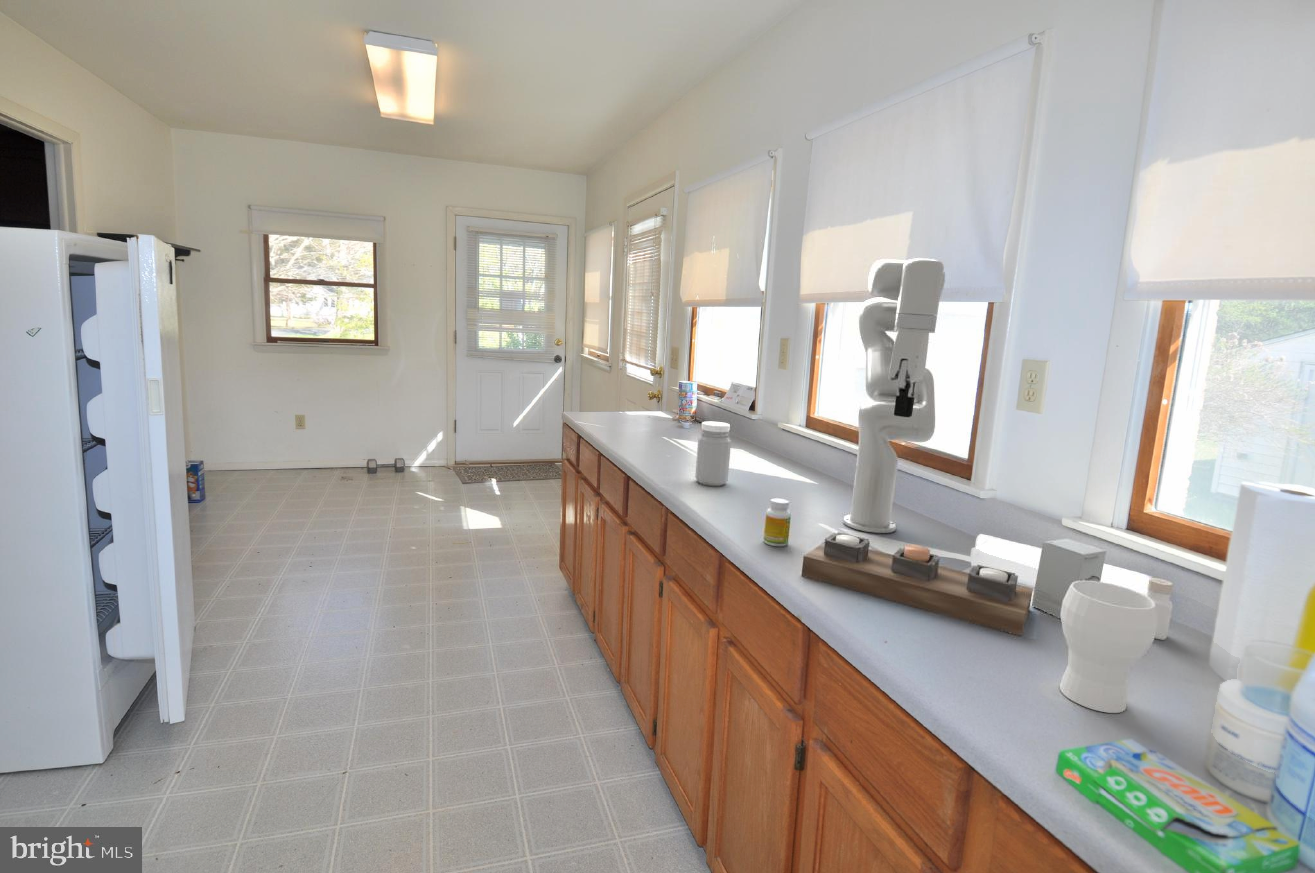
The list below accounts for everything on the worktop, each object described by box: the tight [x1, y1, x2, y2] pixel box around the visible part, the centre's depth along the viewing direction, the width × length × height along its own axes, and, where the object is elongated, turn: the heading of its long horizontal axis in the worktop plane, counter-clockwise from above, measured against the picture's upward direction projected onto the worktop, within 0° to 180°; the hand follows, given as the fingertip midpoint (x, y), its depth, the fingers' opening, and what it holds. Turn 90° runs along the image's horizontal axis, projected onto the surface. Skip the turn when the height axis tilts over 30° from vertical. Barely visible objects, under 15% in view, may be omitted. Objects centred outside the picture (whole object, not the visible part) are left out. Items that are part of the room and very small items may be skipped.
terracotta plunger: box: [903, 544, 931, 563], centre depth 125 cm, size 4×4×3 cm
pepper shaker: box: [1144, 577, 1174, 641], centre depth 113 cm, size 4×4×10 cm
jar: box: [694, 420, 732, 487], centre depth 200 cm, size 10×10×18 cm
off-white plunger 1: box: [836, 534, 859, 546], centre depth 132 cm, size 4×4×3 cm
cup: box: [1059, 581, 1157, 714], centre depth 91 cm, size 11×11×15 cm
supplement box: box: [1031, 538, 1107, 620], centre depth 120 cm, size 7×7×13 cm
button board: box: [800, 531, 1034, 637], centre depth 125 cm, size 14×38×7 cm, turn 57°
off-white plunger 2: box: [979, 567, 1008, 582], centre depth 118 cm, size 4×4×3 cm
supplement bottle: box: [763, 497, 792, 547], centre depth 148 cm, size 5×5×10 cm
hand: (902, 415), depth 136 cm, fingers closed
